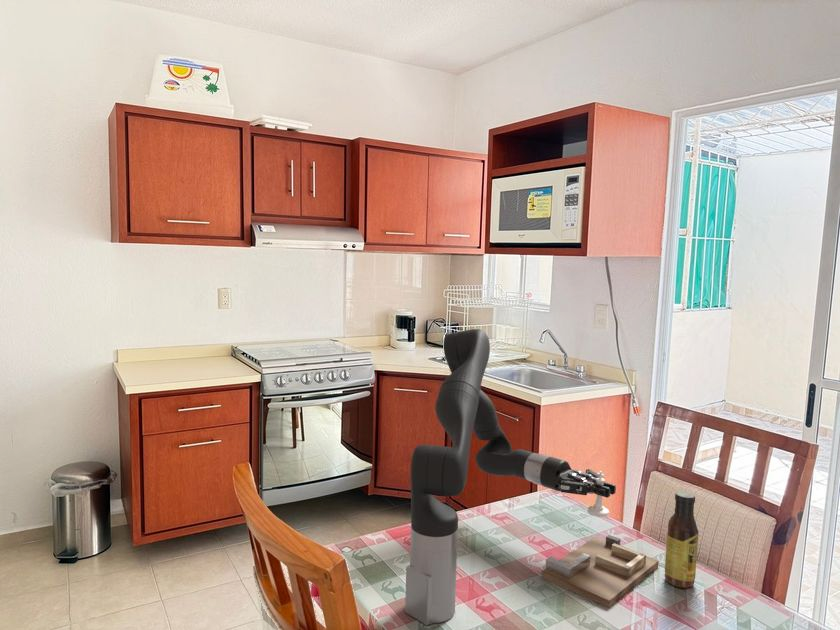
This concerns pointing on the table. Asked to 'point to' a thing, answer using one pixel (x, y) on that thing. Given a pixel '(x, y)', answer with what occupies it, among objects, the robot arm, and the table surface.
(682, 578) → the sauce bottle
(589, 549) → the socket board
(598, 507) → the chess piece
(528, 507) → the table surface
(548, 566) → the keeper bolt
